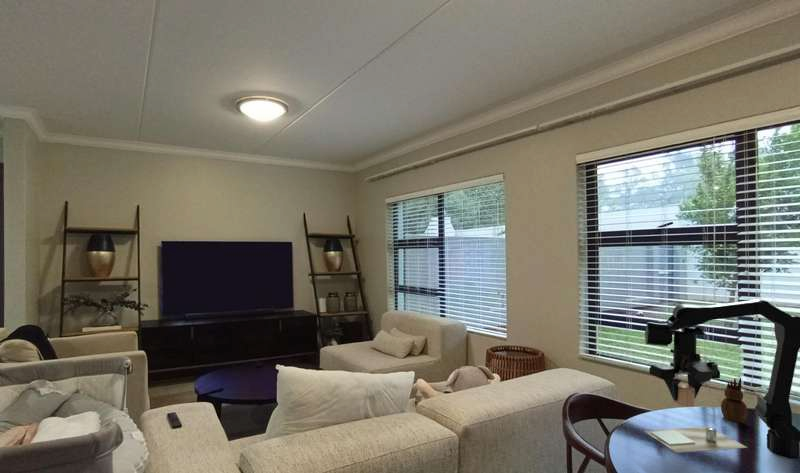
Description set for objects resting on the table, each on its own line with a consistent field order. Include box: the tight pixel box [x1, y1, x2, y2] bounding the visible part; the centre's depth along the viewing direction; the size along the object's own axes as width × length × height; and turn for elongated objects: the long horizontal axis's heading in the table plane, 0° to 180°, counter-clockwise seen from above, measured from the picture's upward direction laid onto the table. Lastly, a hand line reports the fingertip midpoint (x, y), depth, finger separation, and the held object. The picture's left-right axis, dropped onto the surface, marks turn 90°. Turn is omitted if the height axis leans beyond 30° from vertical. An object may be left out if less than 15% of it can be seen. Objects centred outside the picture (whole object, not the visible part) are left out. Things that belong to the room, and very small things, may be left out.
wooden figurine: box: [720, 377, 748, 424], centre depth 145 cm, size 7×6×15 cm
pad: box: [651, 430, 695, 446], centre depth 132 cm, size 8×8×1 cm
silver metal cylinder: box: [705, 426, 717, 443], centre depth 130 cm, size 3×3×4 cm
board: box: [643, 426, 748, 454], centre depth 131 cm, size 14×22×1 cm, turn 97°
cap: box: [672, 383, 696, 408], centre depth 131 cm, size 5×5×5 cm
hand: (683, 400), depth 131 cm, fingers closed on cap, 5 cm apart
